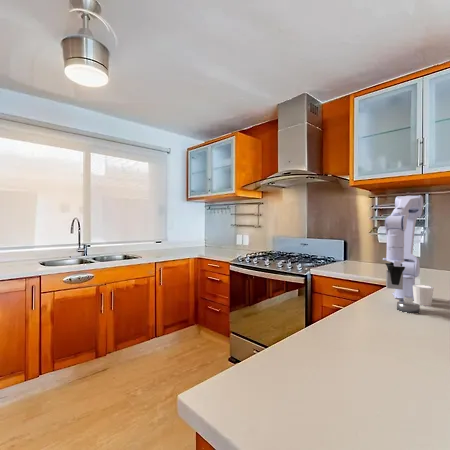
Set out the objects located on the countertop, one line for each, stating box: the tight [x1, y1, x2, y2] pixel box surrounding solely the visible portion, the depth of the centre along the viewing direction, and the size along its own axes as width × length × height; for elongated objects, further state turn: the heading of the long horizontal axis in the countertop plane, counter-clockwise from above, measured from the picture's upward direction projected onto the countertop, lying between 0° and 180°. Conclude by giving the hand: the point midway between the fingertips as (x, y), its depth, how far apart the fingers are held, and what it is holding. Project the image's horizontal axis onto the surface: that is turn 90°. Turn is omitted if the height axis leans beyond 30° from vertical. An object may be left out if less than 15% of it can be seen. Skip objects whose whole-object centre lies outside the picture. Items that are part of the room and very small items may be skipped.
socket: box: [385, 269, 403, 290], centre depth 111 cm, size 5×5×6 cm
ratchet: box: [396, 296, 421, 314], centre depth 110 cm, size 14×7×5 cm, turn 157°
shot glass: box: [413, 284, 434, 307], centre depth 116 cm, size 7×7×7 cm
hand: (394, 283), depth 111 cm, fingers closed on socket, 5 cm apart
